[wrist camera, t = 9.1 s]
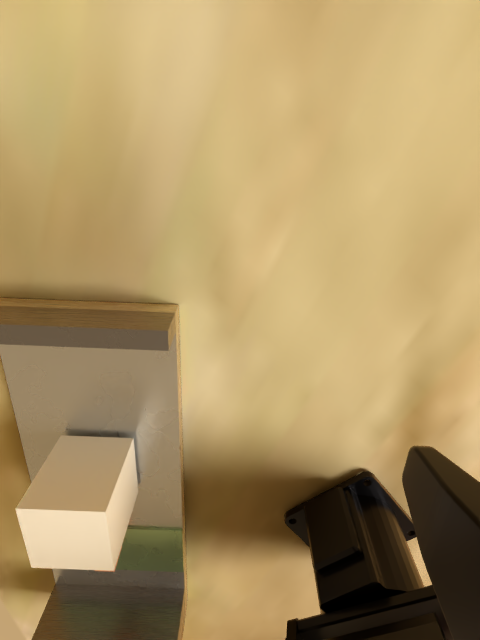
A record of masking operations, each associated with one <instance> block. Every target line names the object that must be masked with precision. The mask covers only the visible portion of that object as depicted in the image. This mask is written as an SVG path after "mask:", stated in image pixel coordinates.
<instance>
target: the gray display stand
mask: <svg viewBox="0 0 480 640" xmlns="http://www.w3.org/2000/svg"><path fill="white" fill-rule="evenodd" d="M0 356H1V360H2V364H3V368H4V372H5V376H6V380H7V385H8V389H9V393H10V397H11V401H12V405H13V409H14V413H15V418H16V422H17V426H18V430H19V434H20V438H21V442H22V447H23V451H24V455H25V459H26V463H27V467H28V471H29V475H30V480H31V483H32V481H33V479H34V478H35V476H36V475H37V473H38V471H39V470H40V468H41V467H42V465H43V463H44V462H45V460H46V459H47V457H48V455H49V454H50V452H51V451H52V449H53V447H54V446H55V444H56V443H57V441H58V439H59V438H60V436H61V435H64V436H90V437H115V438H133V439H134V450H135V460H136V471H137V482H138V494H137V497H136V501H135V504H134V507H133V511H132V514H131V517H130V520H129V524H128V527H127V530H126V533H125V537H124V540H123V543H122V549H121V552H120V556H119V559H118V562H117V565H116V569H115V572H109V571H95V570H79V569H53V568H52V571H53V575H54V579H55V583H56V584H55V586H54V589H53V591H52V593H51V596H50V598H49V600H48V603H47V605H46V607H45V610H44V612H43V614H42V617H41V619H40V621H39V624H38V626H37V628H36V631H35V633H34V635H33V638H32V640H182V638H183V630H184V622H185V614H186V606H187V573H186V539H185V505H184V472H183V438H182V404H181V370H180V336H179V305H173V304H147V303H122V302H96V301H71V300H45V299H20V298H0Z"/></svg>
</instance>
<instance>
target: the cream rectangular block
mask: <svg viewBox="0 0 480 640" xmlns="http://www.w3.org/2000/svg"><path fill="white" fill-rule="evenodd" d="M137 494H138V482H137V471H136V460H135V450H134V439H133V438H115V437H90V436H64V435H61V436H60V438H59V439H58V441H57V443H56V444H55V446H54V447H53V449H52V451H51V452H50V454H49V455H48V457H47V459H46V460H45V462H44V463H43V465H42V467H41V468H40V470H39V471H38V473H37V475H36V476H35V478H34V479H33V481H32V483H31V484H30V486H29V487H28V489H27V491H26V492H25V494H24V495H23V497H22V499H21V500H20V502H19V503H18V505H17V507H16V508H15V509H16V513H17V517H18V520H19V524H20V528H21V531H22V535H23V539H24V542H25V546H26V550H27V553H28V557H29V561H30V564H31V568H53V569H79V570H95V571H109V572H115V569H116V565H117V562H118V559H119V556H120V552H121V549H122V543H123V540H124V537H125V533H126V530H127V527H128V524H129V520H130V517H131V514H132V511H133V507H134V504H135V501H136V497H137Z"/></svg>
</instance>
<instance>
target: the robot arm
mask: <svg viewBox="0 0 480 640" xmlns="http://www.w3.org/2000/svg"><path fill="white" fill-rule="evenodd" d="M365 480H367V481H365ZM402 482H403V487H404V491H405V495H406V499H407V502H408V506H409V510H410V514H411V517H412V519H411V518H410V517H409V516H408V515H407V513H406V512H405V511H404V510H403V509H402V507H401V506H400V505H399V504H398V503H397V502H396V500H395V499H394V498H393V497H392V496H391V494H390V493H389V492H388V491H387V490H386V489H385V487H384V486H383V485H382V484H381V483H380V482H379V480H378V479H377V478H376V477H375V476H374V474H372V473H371V472H363V473H360V474H359V475H357V476H355V477H353V478H351V479H349V480H347V481H345V482H343V483H341V484H339V485H337V486H336V487H334V488H332V489H330V490H328V491H326V492H324V493H322V494H320V495H318V496H316V497H315V498H313V499H311V500H309V501H307V502H305V503H303V504H301V505H299V506H297V507H295V508H293V509H292V510H290V511H288V512H286V513H285V515H284V517H285V523H286V525H287V526H288V527H289V528H290V529H291V530H292V531H293V532H294V533H295V534H296V535H298V536H299V537H300V538H301V539H302V540H303V541H304V542H305V543H306V544H307V545H308V546H309V547H310V551H311V558H312V564H313V568H314V574H315V580H316V586H317V593H318V599H319V606H320V611H321V614H320V615H316V616H312V617H308V618H304V619H300V620H298V619H297V618H296V619H292V620H288V621H287V636H286V639H285V640H480V482H479V481H477V480H476V479H475V478H473V477H472V476H471V475H469V474H468V473H467V472H465V471H464V470H463V469H461V468H460V467H458V466H457V465H456V464H454V463H453V462H452V461H450V460H449V459H448V458H446V457H445V456H444V455H442V454H441V453H440V452H438V451H437V450H436V449H434V448H433V447H430V446H412V447H411V448H410V450H409V453H408V456H407V460H406V464H405V467H404V471H403V476H402ZM292 518H293V519H292ZM415 537H417V540H418V544H419V547H420V551H421V554H422V558H423V560H424V563H425V566H426V569H427V572H428V574H429V577H430V580H431V582H432V585H430V586H427V587H424V585H423V582H422V580H421V577H420V575H419V572H418V570H417V567H416V565H415V562H414V560H413V557H412V555H411V552H410V549H409V547H408V544H407V542H406V541H409V540H411V539H413V538H415Z"/></svg>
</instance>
